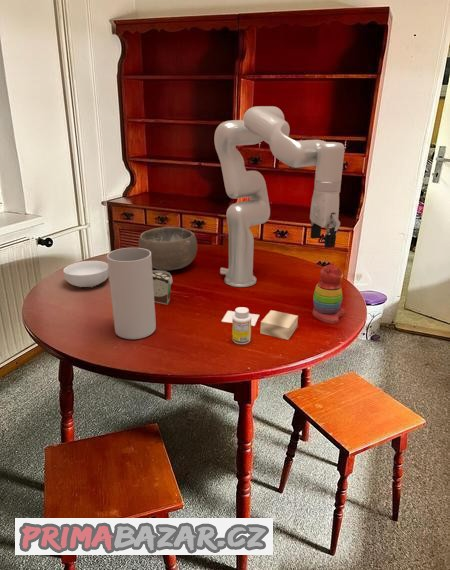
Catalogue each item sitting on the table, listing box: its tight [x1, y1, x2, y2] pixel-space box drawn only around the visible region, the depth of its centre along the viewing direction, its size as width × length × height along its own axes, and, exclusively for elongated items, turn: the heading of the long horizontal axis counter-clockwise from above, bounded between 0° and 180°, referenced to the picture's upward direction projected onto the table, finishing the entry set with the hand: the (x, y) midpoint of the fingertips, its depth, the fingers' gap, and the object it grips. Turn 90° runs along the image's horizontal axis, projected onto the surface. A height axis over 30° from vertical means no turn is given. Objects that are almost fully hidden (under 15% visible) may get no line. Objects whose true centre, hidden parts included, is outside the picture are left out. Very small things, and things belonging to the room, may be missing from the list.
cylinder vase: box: [106, 247, 157, 340], centre depth 129 cm, size 12×12×25 cm
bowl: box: [138, 226, 198, 272], centre depth 183 cm, size 24×24×15 cm
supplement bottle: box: [231, 306, 252, 345], centre depth 127 cm, size 6×6×10 cm
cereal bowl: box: [62, 260, 109, 288], centre depth 167 cm, size 17×17×7 cm
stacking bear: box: [311, 262, 346, 325], centre depth 141 cm, size 11×10×18 cm
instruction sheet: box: [221, 310, 260, 327], centre depth 142 cm, size 11×8×1 cm
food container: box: [152, 269, 173, 305], centre depth 154 cm, size 12×6×10 cm, turn 65°
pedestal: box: [259, 309, 299, 341], centre depth 134 cm, size 9×9×4 cm
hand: (322, 242), depth 133 cm, fingers open, 9 cm apart
